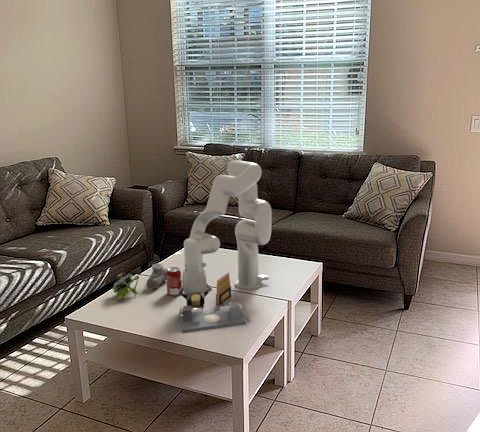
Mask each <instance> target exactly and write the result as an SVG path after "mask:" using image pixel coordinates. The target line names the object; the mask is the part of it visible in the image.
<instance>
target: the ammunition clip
mask: <svg viewBox="0 0 480 432" xmlns="http://www.w3.org/2000/svg"><path fill="white" fill-rule="evenodd" d="M231 298H232V286H231V279H230V273H229V272H227V273H225V274H224V275H223V276H221V277H220V278H219V279H217V280H216V293H215V305H216V306H218V307H222V305H223V304H224V303H227V301H228V300H229V299H231Z"/></svg>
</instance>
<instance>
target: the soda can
mask: <svg viewBox="0 0 480 432" xmlns="http://www.w3.org/2000/svg"><path fill="white" fill-rule="evenodd" d="M166 269H167V272H166V292H167V293H166V294H168V295H169V296H172V297H175V296H176V297H177V296H180V295H179V294H178V291H179V290H180V288H181V287H182V271H181V270H180V267H179V266H171V267H168V268H166Z"/></svg>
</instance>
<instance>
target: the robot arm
mask: <svg viewBox="0 0 480 432" xmlns="http://www.w3.org/2000/svg"><path fill="white" fill-rule="evenodd" d="M226 170H227V171H226V172H227V173H228V174H227V175H226V174H219V175H216V177H215V178H214V180H213V182H212V186H211V189H210V193H209V197H208V201H207V204H206V207H205V209H204V210H203V211H202V212H201V213H200V214H199V215H198V216H197V217H196V219H195V220H194V221H193V224H192V227H191V230H190V235H189V237H188V238H186V239H185V240H184V241H183V251H184V253H183V255H184V256H183V257H184V269H183V270H182V276H181V280H182V287H181V288H180V290H179V291H178V294H179V295H178V296H182V297H183V298H184V299H185V300H186V306H191V300H190V294H192V293H201V308H204V305H205V298H206V297H207V296H208V295H209V293H211V292H212V291H213V288H212V287H211V286H210V285H209V284H208V283H207V281H208V280H207V275H206V270H205V268H204V267H207V263H206V262H203V255H209V254H213V253H216V252H217V251H218V250H219V249H220V247H221V241H220V239H219V238H218V237H217V236H215V235H212V234H210V233H209V234H208V233H206V228H207V226H208V224H209V223H210V222H211V221H212V220H215V219H216V218H218V217H222V216H224V215H225V214H226V211H227V209H228V204H229V201H230V197H233V198H238V214H239V215H240V216H241V217H242V218H246V219H243V220H239V221H238V222H237V224H235V227H234V233H235V238H236V244H237V276H238V277H237V278H238V279H237V280H236V281H235V282H234V285H235V287H236V288H238V289H240V290H247V291H248V290H251V291H252V290H257V289H259V288H260V287H261V286H262V285H263V284H262V283H263V281H268V280H269V276H268V275H265V274H259V247H258V246H259V245H260V246H264V245H266V244H268V243H269V241H270V240H271V235H272V216H273V215H272V214H273V213H272V212H273V210H272V206H271V204H270V203H269V202H268V201H267V200H264V199H260V198H259V197H258V184H257V183H258V182H259V181H260V179H261V177H262V175H263V174H262V172H263V170H262V168H261V166H260V165H259V164H258V163H255V162H252V161H244V160H236V159H233V160H231V161H229V162H228V163H227V166H226Z"/></svg>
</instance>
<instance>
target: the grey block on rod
mask: <svg viewBox="0 0 480 432" xmlns="http://www.w3.org/2000/svg"><path fill="white" fill-rule="evenodd" d="M203 311H204V310H203V307H201V308H193V306H187V305H183V307H180V308H179V315H182V316H183V322H192V319H193V314H202V313H204V312H203Z"/></svg>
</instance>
